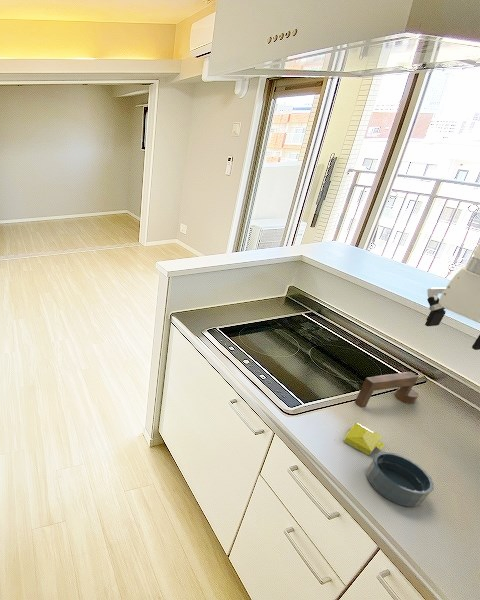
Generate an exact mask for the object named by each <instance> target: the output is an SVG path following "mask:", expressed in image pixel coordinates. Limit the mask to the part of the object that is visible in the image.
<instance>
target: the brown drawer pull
mask: <svg viewBox="0 0 480 600" xmlns="http://www.w3.org/2000/svg"><path fill="white" fill-rule="evenodd" d="M419 378H420V376H418V375H417V374H415V373H414V372H413V371H406V372H398V373H390V374H383V375H375V376H370V377H365V379H364V381H363V383H362V385H361V388H360V390H359V392H358V394H357V396H356V398H355V400H354V403H355V404H356V405H357V406H359V407H360V408H366V407H367V405H368V403H369V401H370V399H371V397H372V395H373V393H374V391H375V392H376V391H382V390H389V389H396V388H397V389H396V391H395V392H394V397H395V398H396V399H397V400H399V401H401V402H403V403H405V404H415V403H416V401H417V399H418V397H419V396H420V395H419V392H418V391H416V390H415V389H414V385H416V383H417V381H418V379H419Z"/></svg>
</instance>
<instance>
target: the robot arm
mask: <svg viewBox="0 0 480 600" xmlns="http://www.w3.org/2000/svg"><path fill="white" fill-rule="evenodd" d="M426 291H427V293H426V294H427V299H426V300H427V302H428V305H429V307H428V309H429V310H430V312H429V313H428V316H427V317H426V320H425V324H424V326H425V327H436V326H440V324H441V322H442V320H443V319H444V317H445V315H446V313H447V312H446V310H448V311H450V312H452V313H454V314H457V315H459V316H462V317H464V318H466V319H468V320H471V321H473V322H476V323H478V324H480V242H479V243H478V244H477V246H476V247H475V250H474V252H473V254H472V256H471V257H470V259H469V261H468V263H467V265H466V266H464V267H461V268H460V270H459V271H457V273H456V274H455V275H454V276H453V277H452V279H450V281H449V282H448V284H447V285H446V287H431V288H428V289H427V290H426ZM439 294H441V295H440V297H439ZM471 348H472V349H473V350H475V351H478V350H479V351H480V334H479V335H478V336H477V338H476V340H475V341H474V343H473V344H472V346H471Z"/></svg>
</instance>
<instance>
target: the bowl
mask: <svg viewBox="0 0 480 600" xmlns="http://www.w3.org/2000/svg"><path fill="white" fill-rule="evenodd" d="M365 474H366V478H367V480H368V481H369V483H370V485H371V487H373V488H374V490H375V491H377V492H378V493H379V494H380V495H381V496H382V497H384V498H385V499H387V500H389V501H391V502H393V503H394V504H398V505H401V506H404V507H412V508H415V507H420V506H421V505H423V504H424V503H425V502H426V500H427V499H428V498H429V496H430V495H431V494H432V492H433V491H434V487H435V484H434V482H433V478H432V477H431V476H430V474H429V473H428V472H427V471H426V470H425V469H423V468H422V467H421V466H420V465H419V464H417V462H414V461H413V460H411V459H409V458H407V457H405V456H403V455H402V454H401V455H400V454H397V453H395V452H389V451H380V452H377V453H375V454H374V456H373V457H372V459H371V460H370V462H369V464H368V466H367V468H366V471H365Z"/></svg>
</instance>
